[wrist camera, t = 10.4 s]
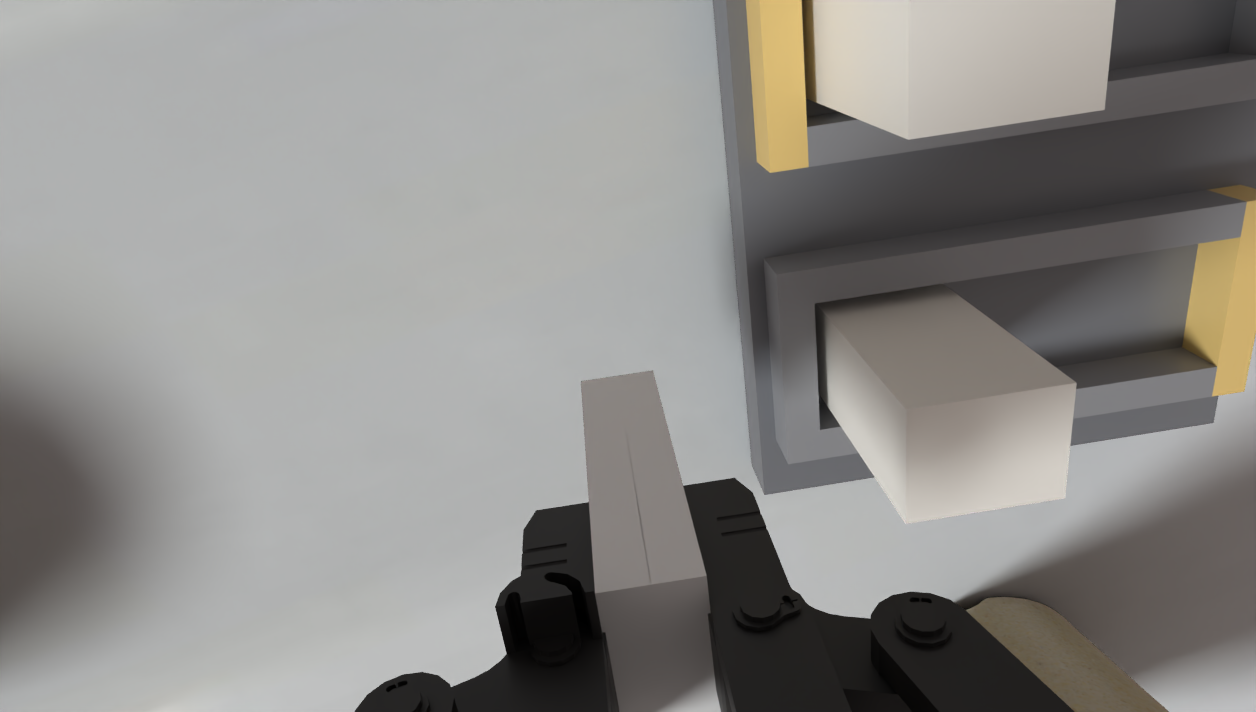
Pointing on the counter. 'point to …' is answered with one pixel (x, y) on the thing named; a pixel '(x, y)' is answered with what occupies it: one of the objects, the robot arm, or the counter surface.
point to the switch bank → (1003, 227)
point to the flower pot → (1062, 657)
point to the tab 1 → (956, 61)
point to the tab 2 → (944, 403)
